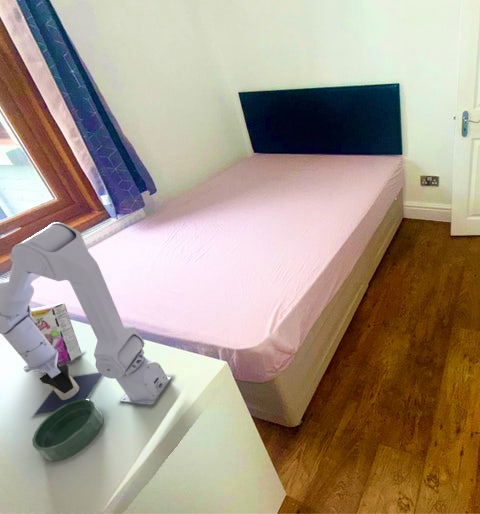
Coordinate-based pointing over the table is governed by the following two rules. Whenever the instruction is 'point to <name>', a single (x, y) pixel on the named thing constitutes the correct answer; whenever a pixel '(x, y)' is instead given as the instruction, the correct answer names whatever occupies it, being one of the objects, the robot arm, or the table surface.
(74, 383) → the cream jar
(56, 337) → the candy bar box
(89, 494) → the table surface
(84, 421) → the bowl
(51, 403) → the napkin
